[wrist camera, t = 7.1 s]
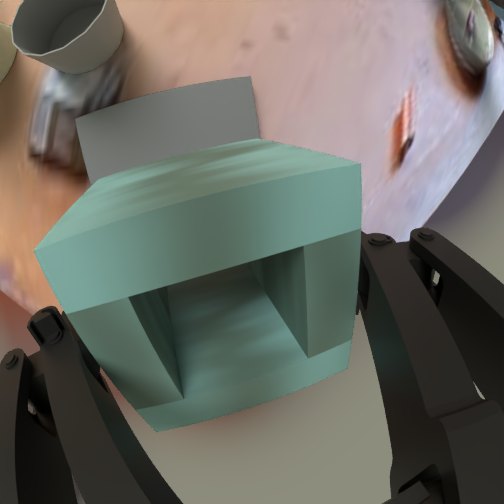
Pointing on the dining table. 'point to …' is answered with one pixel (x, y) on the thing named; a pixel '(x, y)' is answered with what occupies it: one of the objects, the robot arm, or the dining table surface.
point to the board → (167, 125)
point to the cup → (68, 32)
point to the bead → (213, 276)
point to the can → (6, 50)
